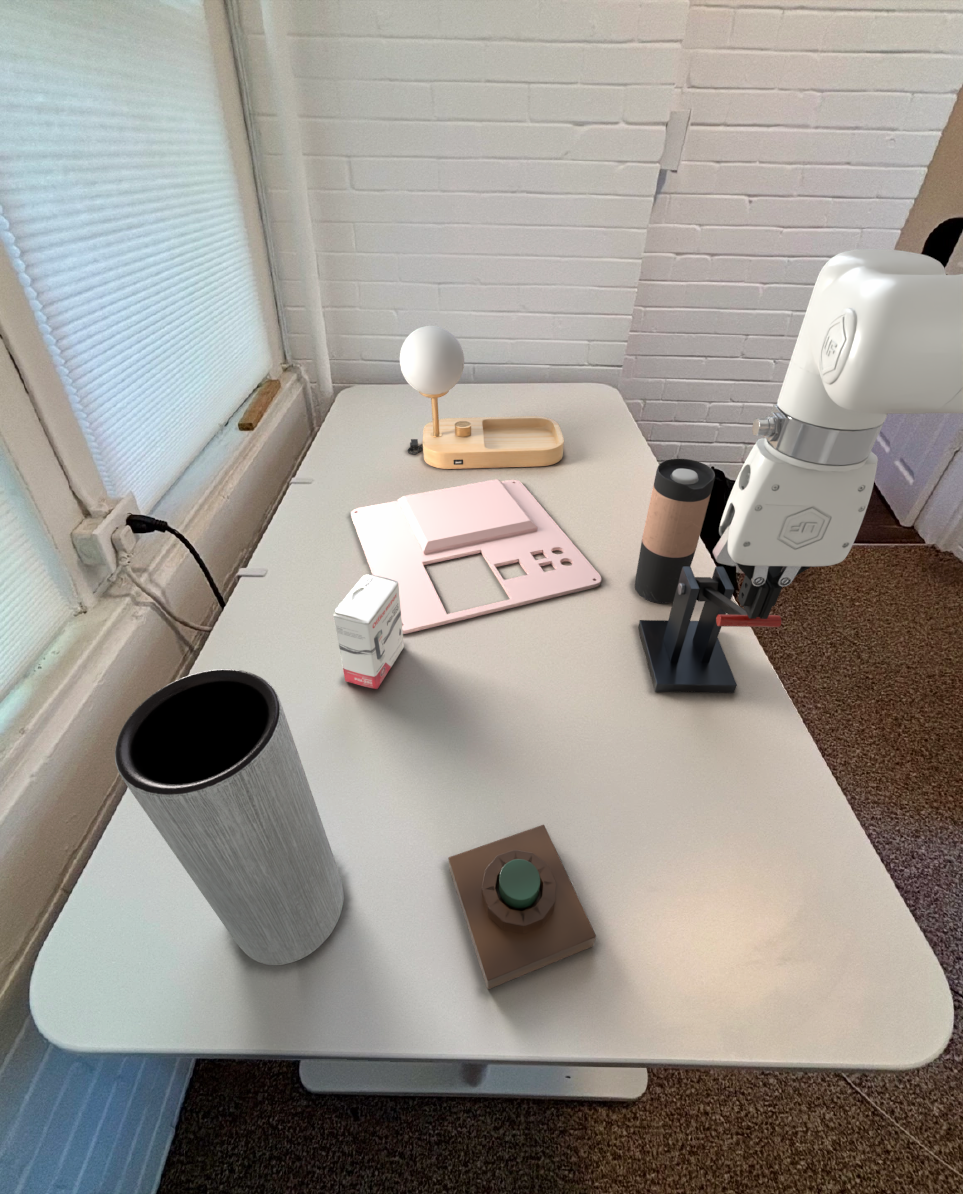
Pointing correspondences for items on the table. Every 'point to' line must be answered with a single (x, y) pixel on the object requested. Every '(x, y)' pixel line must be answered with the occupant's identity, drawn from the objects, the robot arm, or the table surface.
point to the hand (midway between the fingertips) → (752, 609)
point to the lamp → (470, 441)
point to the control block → (513, 934)
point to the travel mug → (672, 526)
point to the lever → (730, 607)
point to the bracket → (689, 642)
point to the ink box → (369, 630)
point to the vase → (236, 809)
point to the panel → (469, 547)
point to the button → (519, 883)
